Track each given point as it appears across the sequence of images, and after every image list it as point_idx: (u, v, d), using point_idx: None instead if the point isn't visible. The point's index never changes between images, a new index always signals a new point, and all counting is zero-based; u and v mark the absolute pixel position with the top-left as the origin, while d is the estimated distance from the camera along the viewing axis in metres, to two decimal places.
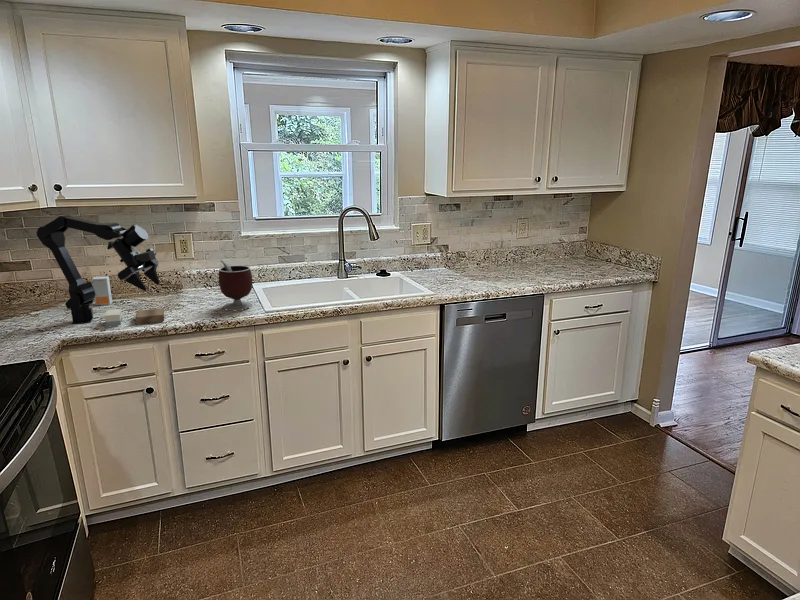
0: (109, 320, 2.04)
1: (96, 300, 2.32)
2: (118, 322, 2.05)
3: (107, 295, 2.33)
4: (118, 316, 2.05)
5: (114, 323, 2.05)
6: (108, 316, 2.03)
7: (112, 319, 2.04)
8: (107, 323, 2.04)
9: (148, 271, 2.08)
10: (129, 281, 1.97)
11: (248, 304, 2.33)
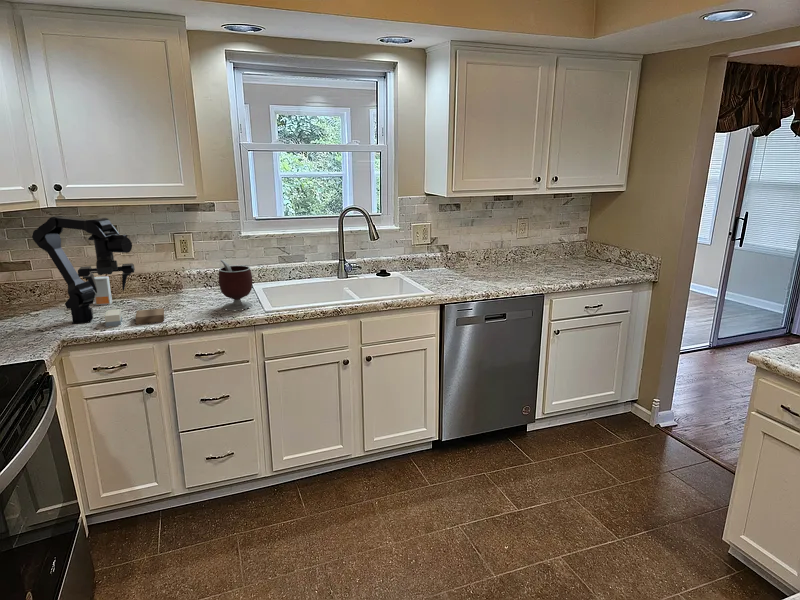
0: (109, 320, 2.04)
1: (96, 300, 2.32)
2: (118, 322, 2.05)
3: (107, 295, 2.33)
4: (118, 316, 2.05)
5: (114, 323, 2.05)
6: (108, 316, 2.03)
7: (112, 320, 2.04)
8: (107, 323, 2.04)
9: None
10: None
11: (248, 304, 2.33)
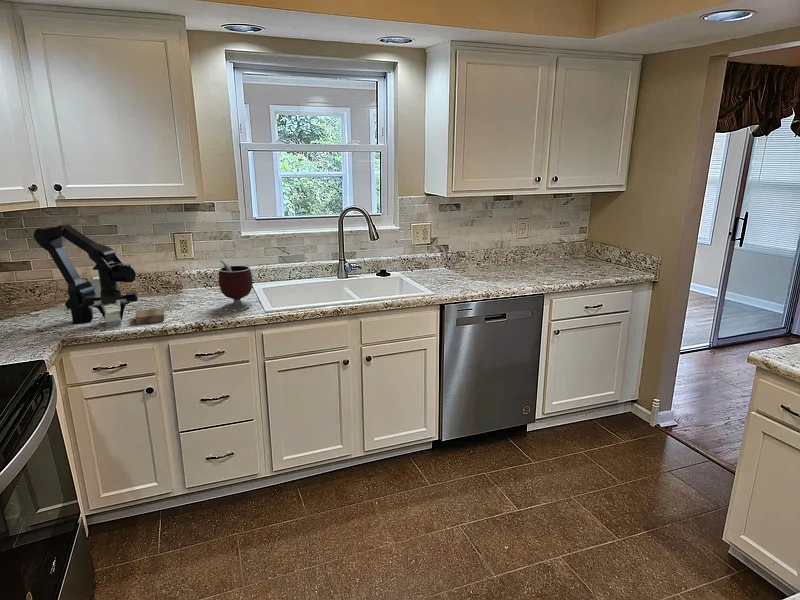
0: (109, 320, 2.04)
1: None
2: (118, 322, 2.05)
3: None
4: (118, 316, 2.05)
5: (114, 323, 2.05)
6: (107, 315, 2.03)
7: (111, 319, 2.04)
8: (107, 323, 2.04)
9: None
10: None
11: (248, 304, 2.33)
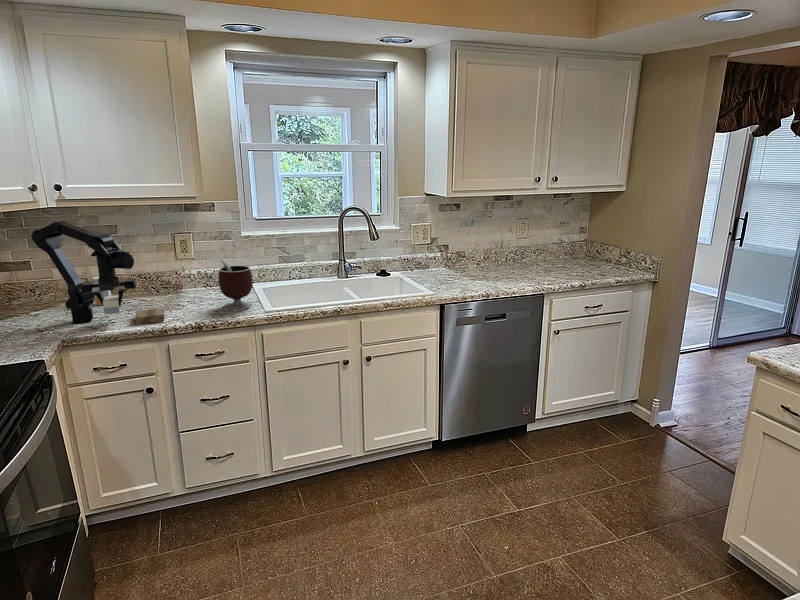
0: (107, 306, 2.02)
1: (96, 300, 2.32)
2: (116, 308, 2.04)
3: (107, 295, 2.33)
4: (116, 302, 2.03)
5: (112, 309, 2.03)
6: (106, 301, 2.02)
7: (110, 305, 2.03)
8: (105, 309, 2.02)
9: None
10: None
11: (248, 304, 2.33)
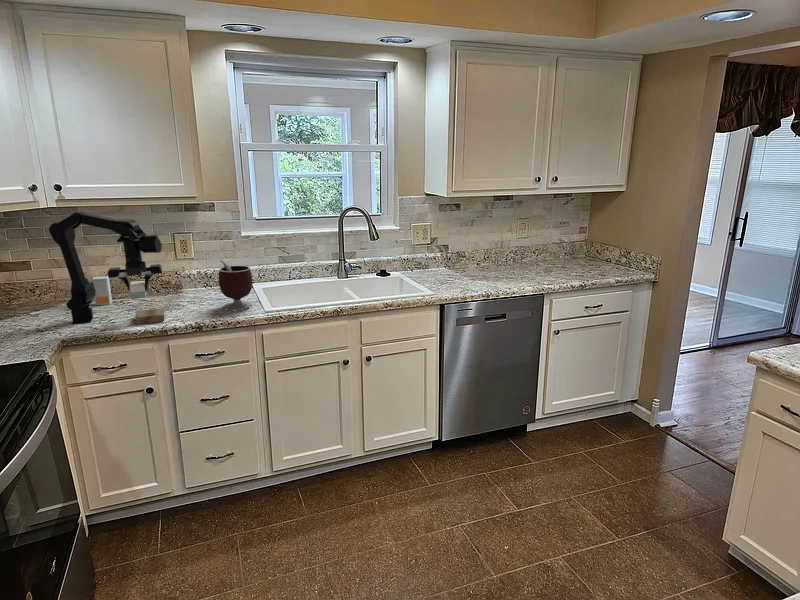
0: (134, 291, 2.05)
1: (96, 300, 2.32)
2: (143, 293, 2.06)
3: (107, 295, 2.33)
4: (142, 287, 2.05)
5: (139, 294, 2.05)
6: (132, 286, 2.04)
7: (136, 290, 2.05)
8: (132, 294, 2.05)
9: (145, 275, 2.09)
10: None
11: (248, 304, 2.33)
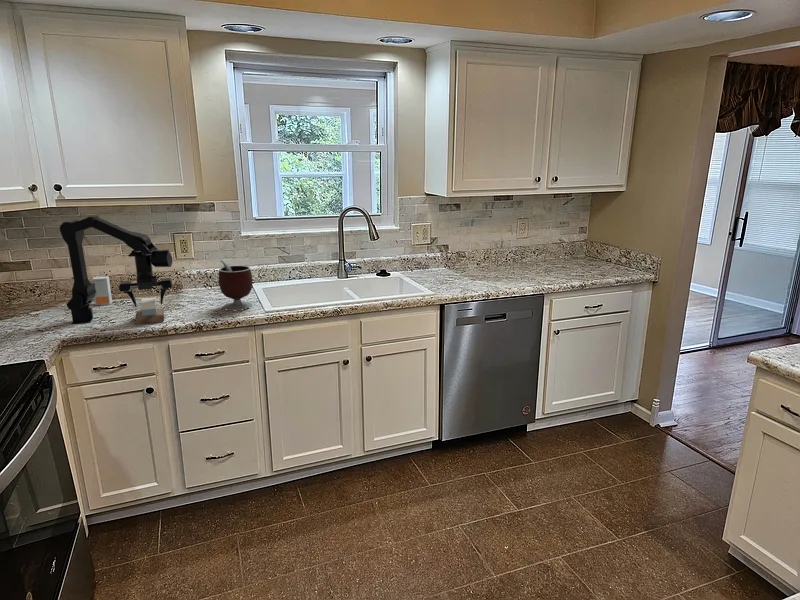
0: (145, 308, 2.08)
1: (96, 300, 2.32)
2: (154, 310, 2.09)
3: (107, 295, 2.33)
4: (153, 304, 2.09)
5: (150, 311, 2.09)
6: (143, 304, 2.07)
7: (147, 307, 2.08)
8: (143, 311, 2.08)
9: None
10: None
11: (248, 304, 2.33)
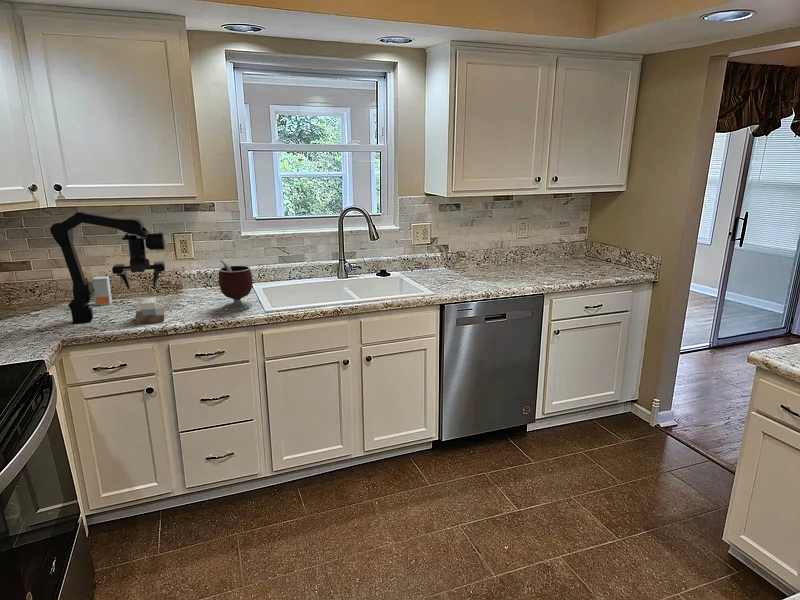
0: (145, 308, 2.08)
1: (96, 300, 2.32)
2: (154, 310, 2.09)
3: (107, 295, 2.33)
4: (153, 304, 2.09)
5: (150, 311, 2.09)
6: (143, 304, 2.07)
7: (147, 307, 2.08)
8: (143, 311, 2.08)
9: (153, 272, 2.15)
10: None
11: (248, 304, 2.33)
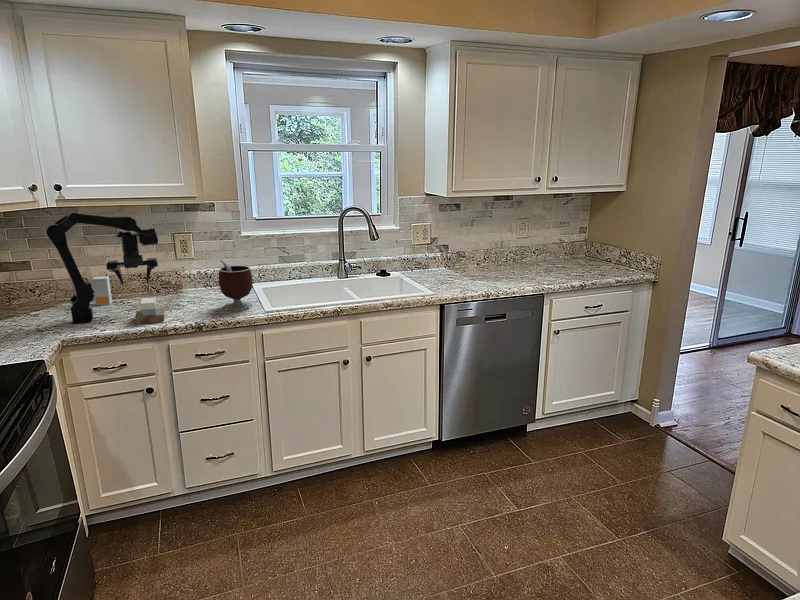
0: (145, 308, 2.08)
1: (96, 300, 2.32)
2: (154, 310, 2.09)
3: (107, 295, 2.33)
4: (153, 304, 2.09)
5: (150, 311, 2.09)
6: (143, 304, 2.07)
7: (147, 307, 2.08)
8: (143, 311, 2.08)
9: None
10: None
11: (248, 304, 2.33)
